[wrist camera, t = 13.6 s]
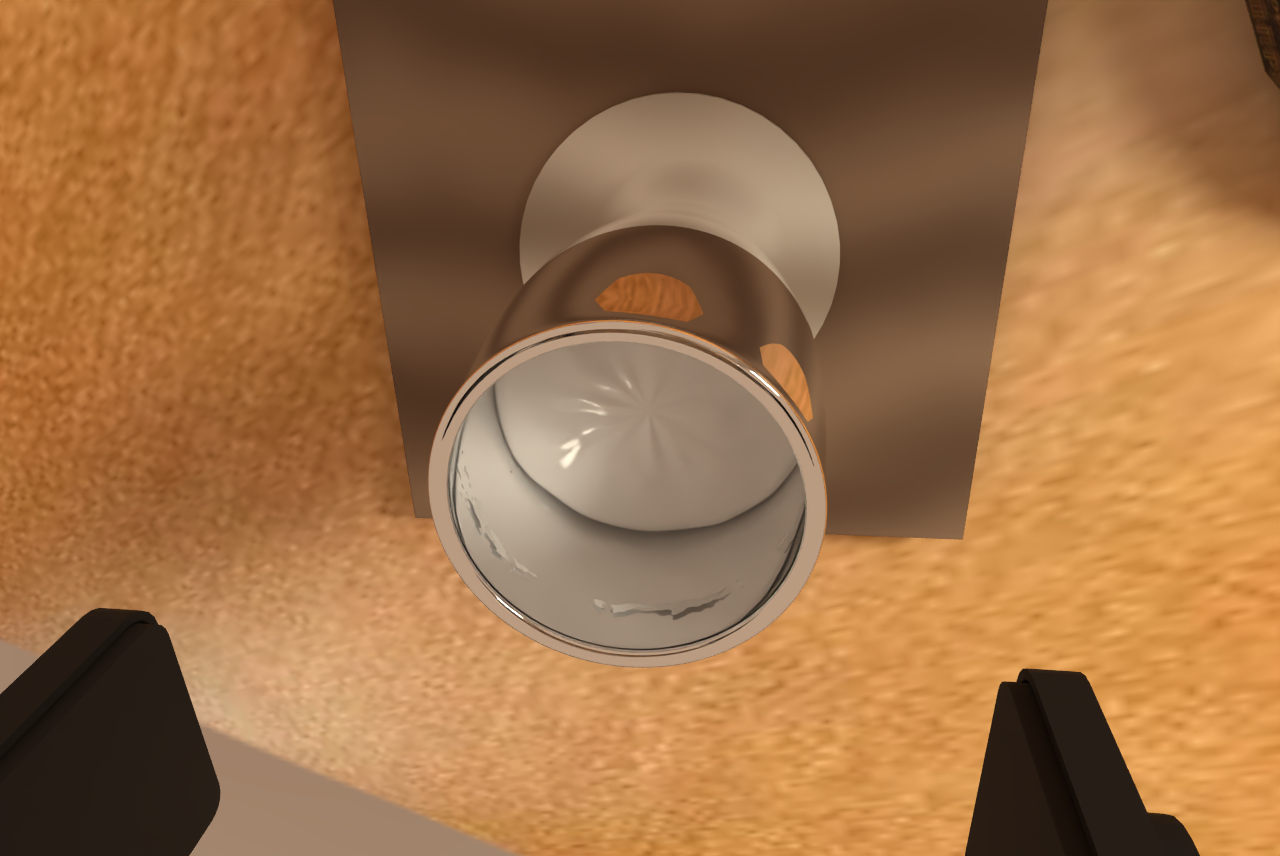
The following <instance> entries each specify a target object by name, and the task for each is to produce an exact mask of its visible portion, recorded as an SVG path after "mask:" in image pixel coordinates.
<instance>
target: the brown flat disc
mask: <svg viewBox="0 0 1280 856" xmlns="http://www.w3.org/2000/svg"><path fill="white" fill-rule="evenodd" d="M1245 3H1246V6H1247V10H1248V13H1249V17H1250V20H1251V24H1252V28H1253V31H1254V35H1255V38H1256V42H1257V45H1258V49H1259V52H1260V56H1261V60H1262V63H1263V67H1264V70H1265V72H1266V73H1267V75H1268V76H1269V77H1270V78H1271V80H1272V81H1273V82H1274V83H1275V85H1276V86H1277V87H1278V88H1279V90H1280V0H1245Z"/></svg>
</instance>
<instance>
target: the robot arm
mask: <svg viewBox="0 0 1280 856" xmlns="http://www.w3.org/2000/svg"><path fill="white" fill-rule="evenodd" d="M219 801H220V786H219V782H218V779H217V776H216V774H215V771H214V767H213V764H212V761H211V759H210V755H209V753H208V749H207V746H206V744H205V741H204V738H203V735H202V732H201V729H200V726H199V723H198V720H197V717H196V714H195V711H194V708H193V705H192V702H191V699H190V696H189V693H188V690H187V687H186V684H185V681H184V678H183V675H182V672H181V669H180V666H179V664H178V661H177V658H176V655H175V652H174V649H173V646H172V643H171V640H170V637H169V634H168V632H167V630H166V629H165V628H164V627H163V626H162V625H158V623H157V621H156V619H155V617H154V616H153V615H151V614H150V613H149V612H145V611H138V610H122V609H107V608H98V609H94V610H91V611H90V612H88V613H87V614H85V615H84V616H83V617H82V618H81V619H80V620H78V621H77V622H76V623H75V624H74V625H73V626H72V627H71V628H70V629H69V630H68V631H67V632H66V633H65V634H64V635H63V636H62V637H60V638H59V639H58V640H57V641H56V642H55V643H54V644H53V645H52V646H51V647H50V648H49V649H48V650H47V651H46V652H45V653H44V654H42V655H41V656H40V657H39V658H38V659H37V660H36V661H35V662H34V663H33V664H32V665H31V666H30V667H29V668H28V669H27V670H26V671H24V672H23V673H22V674H21V675H20V676H19V677H18V678H17V679H16V680H15V681H14V682H13V683H12V684H11V685H10V686H9V687H8V688H6V690H4V691H3V692H2V693H1V694H0V856H189V855H190V854H191V852H192V851H193V849H194V848H195V846H196V844H197V843H198V841H199V840H200V838H201V837H202V835H203V834H204V832H205V831H206V829H207V827H208V826H209V825H210V823H211V822H212V820H213V818H214V816H215V814H216V811H217V809H218V806H219ZM965 856H1200V855H1199V853H1198V851H1197V848H1196V846H1195V844H1194V842H1193V840H1192V839H1191V837H1190V835H1189V834H1188V832H1187V830H1186V829H1185V827H1184V825H1183V824H1182V823H1181V822H1179V821H1178V820H1177V819H1176V818H1175V817H1174V816H1171V815H1167V814H1159V813H1147V811H1146V809H1145V806H1144V804H1143V802H1142V800H1141V797H1140V795H1139V793H1138V791H1137V788H1136V786H1135V784H1134V782H1133V779H1132V777H1131V775H1130V773H1129V770H1128V768H1127V766H1126V764H1125V761H1124V759H1123V757H1122V755H1121V752H1120V750H1119V748H1118V746H1117V743H1116V741H1115V739H1114V737H1113V734H1112V732H1111V730H1110V728H1109V725H1108V723H1107V721H1106V719H1105V716H1104V714H1103V712H1102V710H1101V707H1100V705H1099V703H1098V701H1097V698H1096V696H1095V694H1094V692H1093V689H1092V687H1091V685H1090V683H1089V681H1088V679H1087V678H1086V676H1085V675H1084V674H1082V673H1081V672H1071V671H1056V670H1041V669H1022V670H1021V672H1020V673H1019V676H1018V679H1017V682H1002V683H1001V684H1000V686H999V690H998V694H997V699H996V704H995V709H994V714H993V719H992V724H991V729H990V734H989V739H988V743H987V748H986V753H985V758H984V763H983V768H982V773H981V778H980V783H979V788H978V793H977V798H976V803H975V808H974V813H973V818H972V822H971V827H970V832H969V837H968V842H967V847H966V852H965Z"/></svg>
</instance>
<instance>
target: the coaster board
mask: <svg viewBox="0 0 1280 856" xmlns="http://www.w3.org/2000/svg"><path fill="white" fill-rule="evenodd" d="M1047 3H1048V0H333V5H334V11H335V17H336V23H337V30H338V36H339V42H340V49H341V55H342V61H343V67H344V74H345V80H346V86H347V92H348V99H349V105H350V111H351V117H352V124H353V130H354V136H355V142H356V149H357V155H358V161H359V167H360V174H361V180H362V186H363V192H364V199H365V205H366V211H367V217H368V224H369V230H370V236H371V243H372V249H373V255H374V261H375V268H376V274H377V280H378V286H379V293H380V299H381V305H382V311H383V318H384V324H385V330H386V336H387V343H388V349H389V355H390V361H391V368H392V374H393V380H394V386H395V393H396V399H397V405H398V412H399V418H400V424H401V430H402V437H403V443H404V449H405V455H406V462H407V468H408V474H409V480H410V487H411V493H412V499H413V505H414V512H415V518H433V517H432V513H431V508H430V502H429V493H428V469H429V460H430V454H431V448H432V444H433V441H434V437H435V434H436V431H437V428H438V426H439V423H440V421H441V419H442V416H443V414H444V412H445V410H446V409H447V407H448V405H449V403H450V402H451V400H452V399H453V397H454V396H455V394H456V393H457V392H458V390H459V389H460V388H461V386H462V383H463V381H464V379H465V377H466V375H467V373H468V371H469V369H470V367H471V365H472V363H473V361H474V359H475V357H476V355H477V354H478V352H479V350H480V348H481V346H482V344H483V342H484V340H485V339H486V337H487V335H488V334H489V332H490V330H491V329H492V327H493V326H494V324H495V323H496V321H497V320H498V318H499V317H500V315H501V314H502V312H503V311H504V309H505V308H506V306H507V305H508V303H509V302H510V301H511V299H512V298H513V297H514V295H515V294H516V293H517V292H518V291H519V290H520V288H521V287H522V286H523V285H524V284H525V283H526V282H527V281H528V280H529V279H530V278H531V276H532V275H533V274H534V273H535V272H536V271H537V270H538V269H539V268H540V267H541V266H542V265H543V264H544V263H545V262H546V261H547V260H548V259H550V258H551V257H552V256H553V255H554V254H556V253H557V252H558V251H560V250H561V249H563V248H564V247H566V246H567V245H569V244H570V243H572V242H573V241H575V240H577V239H578V238H580V237H581V236H583V235H584V234H586V233H588V232H590V231H591V230H593V229H594V226H595V223H596V220H597V218H598V216H599V214H600V212H601V210H602V208H603V206H604V205H605V203H606V202H607V200H608V199H609V197H610V196H611V195H612V194H613V192H614V191H615V190H616V189H617V188H618V187H619V186H620V185H621V184H622V183H624V182H625V181H626V180H627V179H629V178H630V177H631V176H633V175H634V174H636V173H638V172H639V171H641V170H643V169H645V168H648V167H650V166H652V165H655V164H658V163H662V162H666V161H671V160H679V159H697V160H704V161H709V162H713V163H717V164H720V165H722V166H725V167H727V168H730V169H732V170H734V171H736V172H737V173H739V174H741V175H742V176H744V177H745V178H747V179H748V180H749V181H751V182H752V183H753V184H754V185H755V186H756V187H758V188H759V189H760V190H761V191H762V192H763V194H764V195H765V196H766V197H767V198H768V200H769V201H770V203H771V204H772V206H773V207H774V209H775V211H776V213H777V215H778V217H779V219H780V221H781V224H782V227H783V230H784V234H785V239H786V245H787V269H786V276H785V280H786V281H787V283H788V284H789V286H790V288H791V289H792V291H793V293H794V295H795V297H796V299H797V300H798V302H799V304H800V306H801V308H802V310H803V312H804V314H805V316H806V318H807V321H808V323H809V326H810V328H811V331H812V334H813V338H814V342H815V346H816V350H817V354H818V358H819V362H820V366H821V371H822V376H823V383H824V394H825V406H826V417H827V451H826V475H825V484H826V492H827V521H826V529H825V534H837V535H862V536H887V537H912V538H937V539H962V540H963V535H964V528H965V522H966V516H967V509H968V503H969V497H970V490H971V484H972V478H973V471H974V465H975V459H976V452H977V446H978V440H979V433H980V427H981V421H982V414H983V408H984V402H985V395H986V389H987V383H988V376H989V370H990V364H991V357H992V351H993V345H994V338H995V332H996V326H997V319H998V313H999V307H1000V300H1001V294H1002V288H1003V281H1004V275H1005V269H1006V262H1007V256H1008V250H1009V243H1010V237H1011V231H1012V224H1013V218H1014V212H1015V205H1016V199H1017V193H1018V186H1019V180H1020V174H1021V167H1022V161H1023V155H1024V148H1025V142H1026V136H1027V129H1028V123H1029V117H1030V110H1031V104H1032V98H1033V92H1034V85H1035V79H1036V73H1037V66H1038V60H1039V54H1040V47H1041V41H1042V35H1043V28H1044V22H1045V16H1046V9H1047Z"/></svg>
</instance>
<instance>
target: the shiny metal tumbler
mask: <svg viewBox="0 0 1280 856" xmlns="http://www.w3.org/2000/svg"><path fill="white" fill-rule="evenodd" d="M786 269H787V245H786V239H785V234H784V230H783V227H782V224H781V221H780V219H779V217H778V215H777V213H776V211H775V209H774V207H773V206H772V204H771V203H770V201H769V200H768V198H767V197H766V196H765V195H764V194H763V192H762V191H761V190H760V189H759V188H758V187H756V186H755V185H754V184H753V183H752V182H751V181H749V180H748V179H747V178H745V177H744V176H742V175H741V174H739V173H737V172H736V171H734V170H732V169H730V168H727V167H725V166H722V165H720V164H717V163H713V162H709V161H704V160H697V159H679V160H671V161H666V162H662V163H658V164H655V165H652V166H650V167H648V168H645V169H643V170H641V171H639V172H638V173H636V174H634V175H633V176H631V177H630V178H629V179H627V180H626V181H625V182H624V183H622V184H621V185H620V186H619V187H618V188H617V189H616V190H615V191H614V192H613V194H612V195H611V196H610V197H609V199H608V200H607V202H606V203H605V205H604V206H603V208H602V210H601V212H600V214H599V216H598V218H597V220H596V223H595V226H594V229H593V230H591V231H590V232H588V233H586V234H584V235H583V236H581V237H580V238H578V239H577V240H575V241H573V242H572V243H570V244H569V245H567V246H566V247H564V248H563V249H561V250H560V251H558V252H557V253H556V254H554V255H553V256H552V257H551V258H550V259H548V260H547V261H546V262H545V263H544V264H543V265H542V266H541V267H540V268H539V269H538V270H537V271H536V272H535V273H534V274H533V275H532V276H531V278H530V279H529V280H528V281H527V282H526V283H525V284H524V285H523V286H522V287H521V288H520V290H519V291H518V292H517V293H516V294H515V295H514V297H513V298H512V299H511V301H510V302H509V303H508V305H507V306H506V308H505V309H504V311H503V312H502V314H501V315H500V317H499V318H498V320H497V321H496V323H495V324H494V326H493V327H492V329H491V330H490V332H489V334H488V335H487V337H486V339H485V340H484V342H483V344H482V346H481V348H480V350H479V352H478V354H477V355H476V357H475V359H474V361H473V363H472V365H471V367H470V369H469V371H468V373H467V375H466V377H465V379H464V381H463V383H462V386H461V388H460V389H459V390H458V392H457V393H456V394H455V396H454V397H453V399H452V400H451V402H450V403H449V405H448V407H447V409H446V410H445V412H444V414H443V416H442V419H441V421H440V423H439V426H438V428H437V431H436V434H435V437H434V441H433V444H432V448H431V454H430V460H429V469H428V493H429V502H430V508H431V513H432V517H433V521H434V525H435V528H436V531H437V534H438V536H439V539H440V541H441V544H442V546H443V548H444V550H445V552H446V555H447V556H448V558H449V560H450V562H451V563H452V565H453V567H454V568H455V570H456V571H457V573H458V574H459V576H460V577H461V579H462V580H463V581H464V583H465V584H466V585H467V586H468V588H469V589H470V590H471V591H472V592H473V594H474V595H475V596H476V597H477V598H478V599H479V600H480V601H481V602H482V603H483V604H484V605H485V606H486V607H487V608H488V609H489V610H490V611H492V612H493V613H494V614H495V615H496V616H498V617H499V618H500V619H501V620H503V621H504V622H505V623H507V624H508V625H509V626H511V627H512V628H514V629H515V630H517V631H518V632H520V633H522V634H523V635H525V636H527V637H528V638H530V639H532V640H534V641H536V642H538V643H540V644H542V645H544V646H546V647H548V648H551V649H553V650H555V651H558V652H561V653H563V654H566V655H569V656H572V657H575V658H579V659H582V660H586V661H590V662H595V663H600V664H605V665H612V666H621V667H638V668H648V667H665V666H673V665H680V664H686V663H690V662H694V661H698V660H702V659H705V658H709V657H712V656H715V655H717V654H720V653H723V652H725V651H727V650H730V649H732V648H734V647H736V646H738V645H740V644H742V643H744V642H745V641H747V640H749V639H750V638H752V637H754V636H755V635H757V634H758V633H760V632H761V631H762V630H764V629H765V628H766V627H768V626H769V625H770V624H771V623H773V622H774V621H775V620H776V619H777V618H778V617H779V616H780V615H781V614H782V613H783V612H784V611H785V610H786V609H787V608H788V607H789V606H790V605H791V604H792V602H793V601H794V600H795V599H796V597H797V596H798V595H799V593H800V592H801V590H802V589H803V587H804V586H805V584H806V582H807V581H808V579H809V577H810V575H811V573H812V571H813V569H814V567H815V565H816V562H817V560H818V557H819V554H820V551H821V548H822V544H823V540H824V535H825V529H826V521H827V492H826V484H825V475H826V451H827V417H826V406H825V394H824V383H823V376H822V371H821V366H820V362H819V358H818V354H817V350H816V346H815V342H814V338H813V334H812V331H811V328H810V326H809V323H808V321H807V318H806V316H805V314H804V312H803V310H802V308H801V306H800V304H799V302H798V300H797V299H796V297H795V295H794V293H793V291H792V289H791V288H790V286H789V284H788V283H787V281H786V280H785V276H786Z"/></svg>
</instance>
